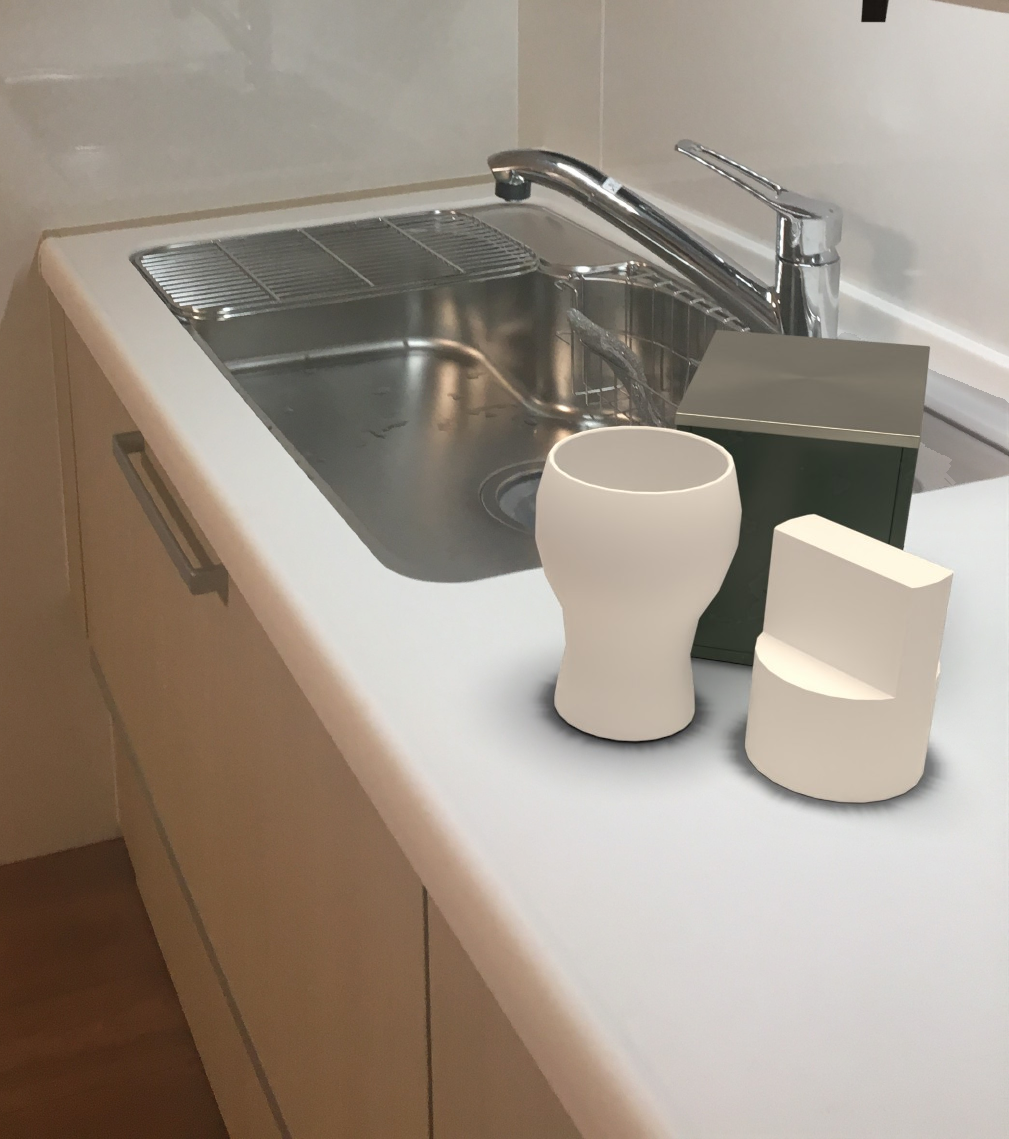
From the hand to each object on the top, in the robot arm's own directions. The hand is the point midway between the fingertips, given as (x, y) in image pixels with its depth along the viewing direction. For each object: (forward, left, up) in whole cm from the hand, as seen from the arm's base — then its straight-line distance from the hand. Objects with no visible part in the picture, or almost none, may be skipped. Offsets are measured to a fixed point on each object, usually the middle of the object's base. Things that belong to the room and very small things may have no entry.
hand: (874, 8), depth 100 cm
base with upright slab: (-29, +23, -33) cm, 50 cm away
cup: (-20, +30, -33) cm, 49 cm away
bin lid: (-15, +15, -18) cm, 29 cm away
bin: (-15, +15, -33) cm, 39 cm away
